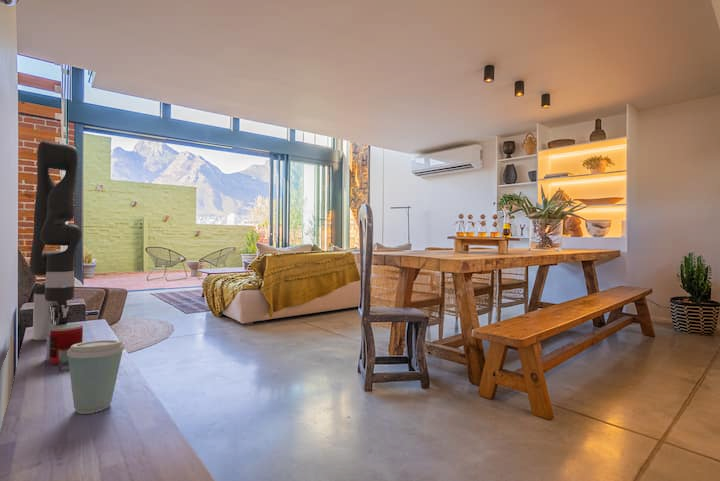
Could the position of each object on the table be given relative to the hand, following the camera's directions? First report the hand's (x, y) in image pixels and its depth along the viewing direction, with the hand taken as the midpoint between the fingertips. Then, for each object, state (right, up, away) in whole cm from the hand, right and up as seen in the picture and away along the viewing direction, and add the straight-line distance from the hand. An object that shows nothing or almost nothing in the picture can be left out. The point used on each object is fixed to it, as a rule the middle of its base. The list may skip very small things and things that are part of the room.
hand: (58, 338), depth 122 cm
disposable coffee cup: (+39, -6, -37) cm, 54 cm away
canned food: (+7, -6, -6) cm, 11 cm away
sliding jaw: (0, -6, 0) cm, 6 cm away
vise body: (+13, -6, -10) cm, 17 cm away
